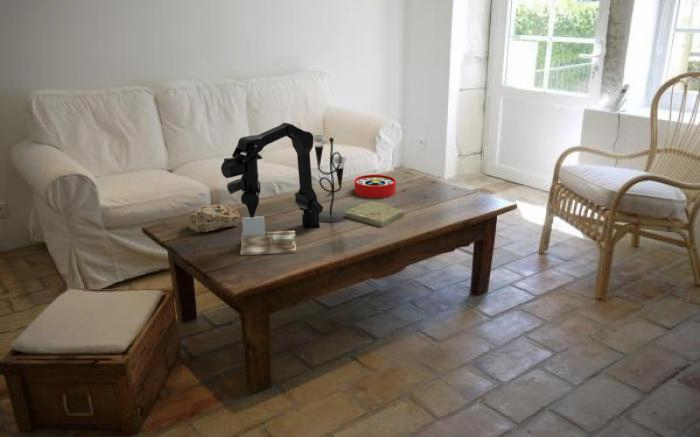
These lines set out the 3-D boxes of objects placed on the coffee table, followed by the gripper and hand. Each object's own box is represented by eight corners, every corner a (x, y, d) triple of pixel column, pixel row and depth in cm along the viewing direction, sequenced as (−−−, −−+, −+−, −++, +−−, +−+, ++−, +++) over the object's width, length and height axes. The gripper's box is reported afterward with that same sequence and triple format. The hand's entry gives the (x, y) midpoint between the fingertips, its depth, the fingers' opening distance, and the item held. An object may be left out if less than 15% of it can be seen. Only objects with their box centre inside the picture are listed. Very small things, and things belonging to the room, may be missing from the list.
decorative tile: (381, 228, 234) (381, 220, 233) (344, 217, 246) (343, 209, 245) (407, 216, 247) (407, 208, 246) (370, 206, 259) (370, 199, 258)
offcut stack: (294, 243, 215) (294, 234, 214) (295, 248, 211) (294, 239, 210) (270, 245, 214) (270, 236, 213) (270, 249, 211) (269, 240, 209)
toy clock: (375, 172, 290) (404, 180, 276) (375, 183, 292) (404, 192, 278) (345, 179, 278) (374, 189, 264) (345, 191, 280) (374, 201, 266)
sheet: (265, 241, 218) (264, 216, 214) (265, 242, 216) (263, 217, 213) (244, 241, 217) (242, 217, 214) (243, 243, 216) (242, 218, 212)
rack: (295, 237, 223) (294, 228, 222) (296, 252, 210) (295, 242, 209) (243, 240, 221) (242, 230, 220) (240, 255, 208) (239, 244, 207)
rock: (229, 217, 248) (232, 197, 243) (243, 235, 238) (246, 214, 233) (182, 222, 236) (184, 201, 231) (195, 241, 226) (197, 219, 222)
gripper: (229, 166, 215) (232, 206, 220) (224, 180, 198) (228, 223, 203) (259, 165, 216) (261, 204, 222) (257, 179, 199) (260, 221, 204)
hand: (252, 213), depth 213 cm, fingers open, 9 cm apart
